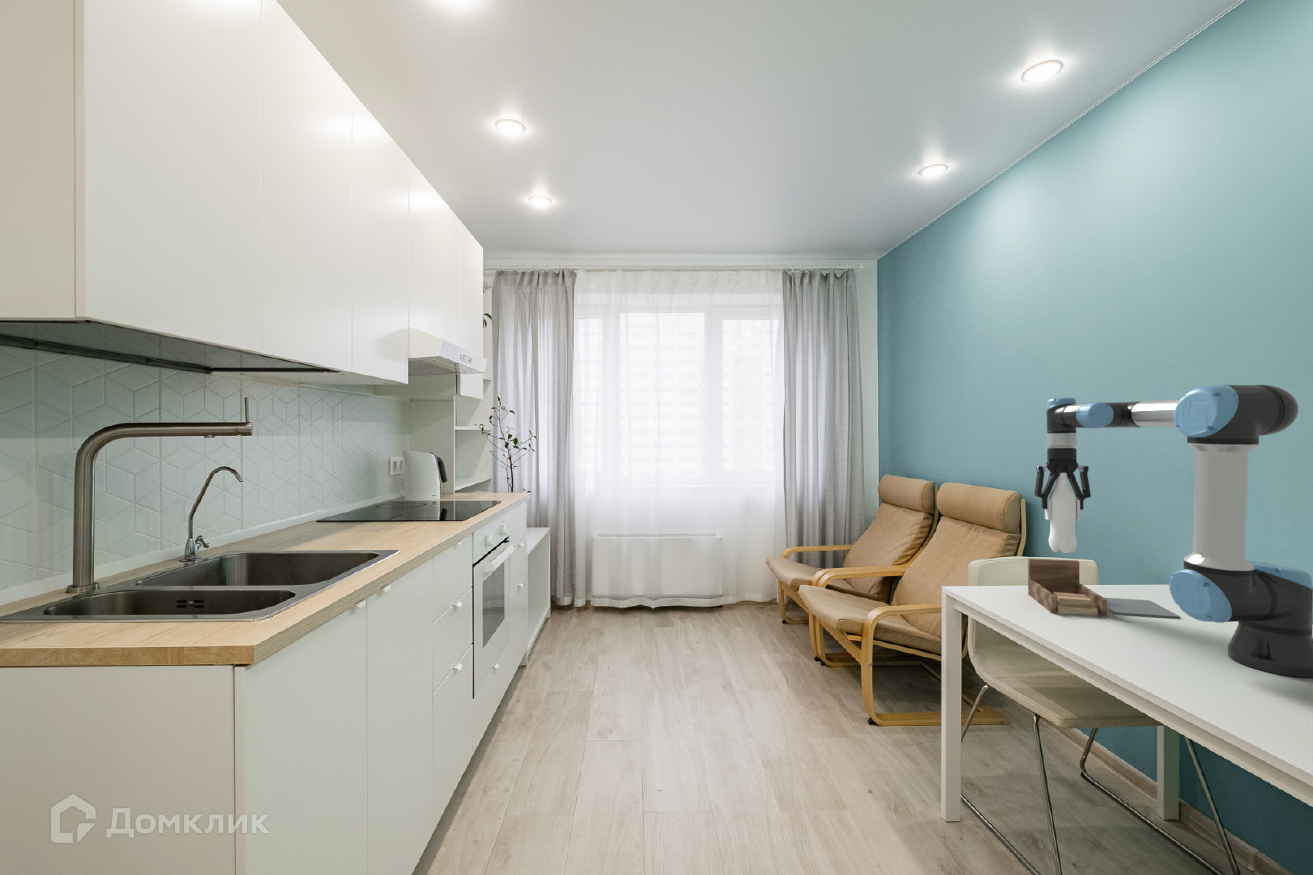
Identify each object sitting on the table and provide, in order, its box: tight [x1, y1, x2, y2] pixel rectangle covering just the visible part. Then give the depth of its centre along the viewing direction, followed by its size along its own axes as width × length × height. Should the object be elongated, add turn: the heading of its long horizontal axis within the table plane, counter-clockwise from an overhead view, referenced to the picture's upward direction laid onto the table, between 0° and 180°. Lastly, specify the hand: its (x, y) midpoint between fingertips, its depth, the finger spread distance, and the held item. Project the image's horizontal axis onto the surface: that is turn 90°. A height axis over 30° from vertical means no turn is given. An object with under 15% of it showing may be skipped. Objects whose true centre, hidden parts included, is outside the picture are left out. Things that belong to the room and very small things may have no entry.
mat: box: [1104, 597, 1181, 620], centre depth 172 cm, size 16×16×1 cm
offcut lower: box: [1056, 603, 1099, 617], centre depth 171 cm, size 7×10×2 cm
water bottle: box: [1048, 473, 1078, 554], centre depth 178 cm, size 7×7×25 cm
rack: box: [1027, 557, 1108, 617], centre depth 176 cm, size 20×14×12 cm
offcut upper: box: [1054, 592, 1092, 609], centre depth 171 cm, size 6×8×2 cm
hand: (1062, 519), depth 178 cm, fingers closed on water bottle, 7 cm apart
